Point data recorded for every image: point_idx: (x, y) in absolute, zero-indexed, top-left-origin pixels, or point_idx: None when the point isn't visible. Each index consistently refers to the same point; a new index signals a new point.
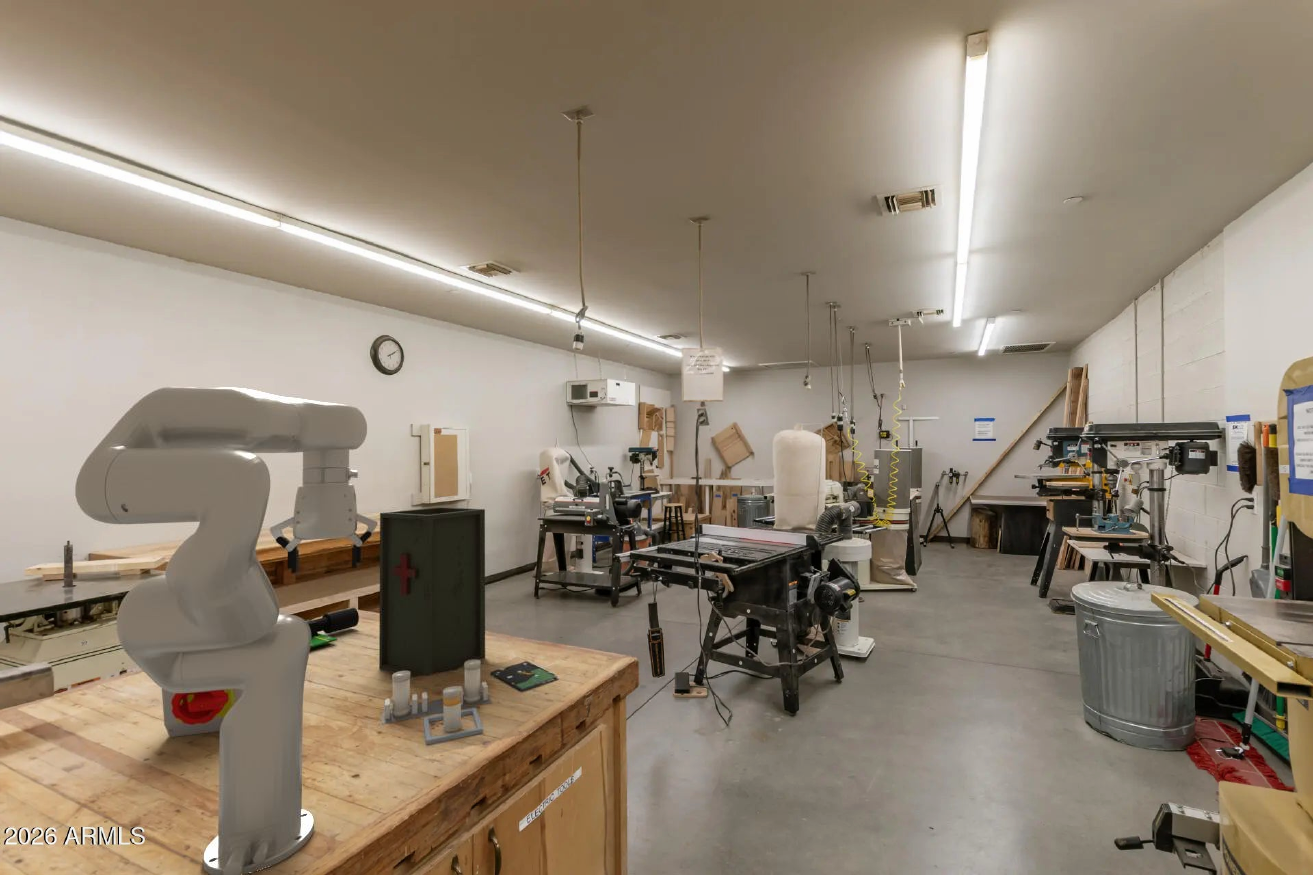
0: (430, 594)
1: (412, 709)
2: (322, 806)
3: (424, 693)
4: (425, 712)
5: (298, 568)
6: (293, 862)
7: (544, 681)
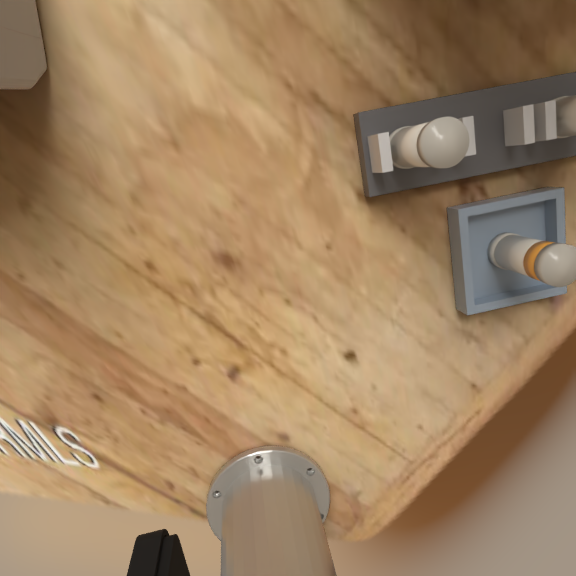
0: None
1: None
2: (321, 430)
3: (468, 122)
4: None
5: (174, 541)
6: None
7: None
